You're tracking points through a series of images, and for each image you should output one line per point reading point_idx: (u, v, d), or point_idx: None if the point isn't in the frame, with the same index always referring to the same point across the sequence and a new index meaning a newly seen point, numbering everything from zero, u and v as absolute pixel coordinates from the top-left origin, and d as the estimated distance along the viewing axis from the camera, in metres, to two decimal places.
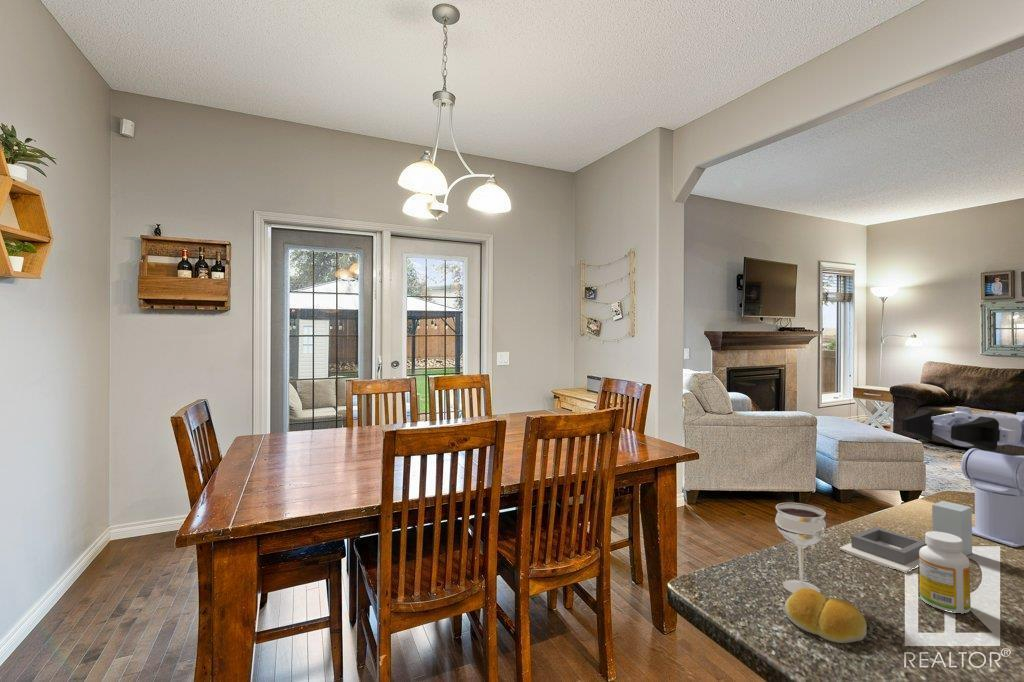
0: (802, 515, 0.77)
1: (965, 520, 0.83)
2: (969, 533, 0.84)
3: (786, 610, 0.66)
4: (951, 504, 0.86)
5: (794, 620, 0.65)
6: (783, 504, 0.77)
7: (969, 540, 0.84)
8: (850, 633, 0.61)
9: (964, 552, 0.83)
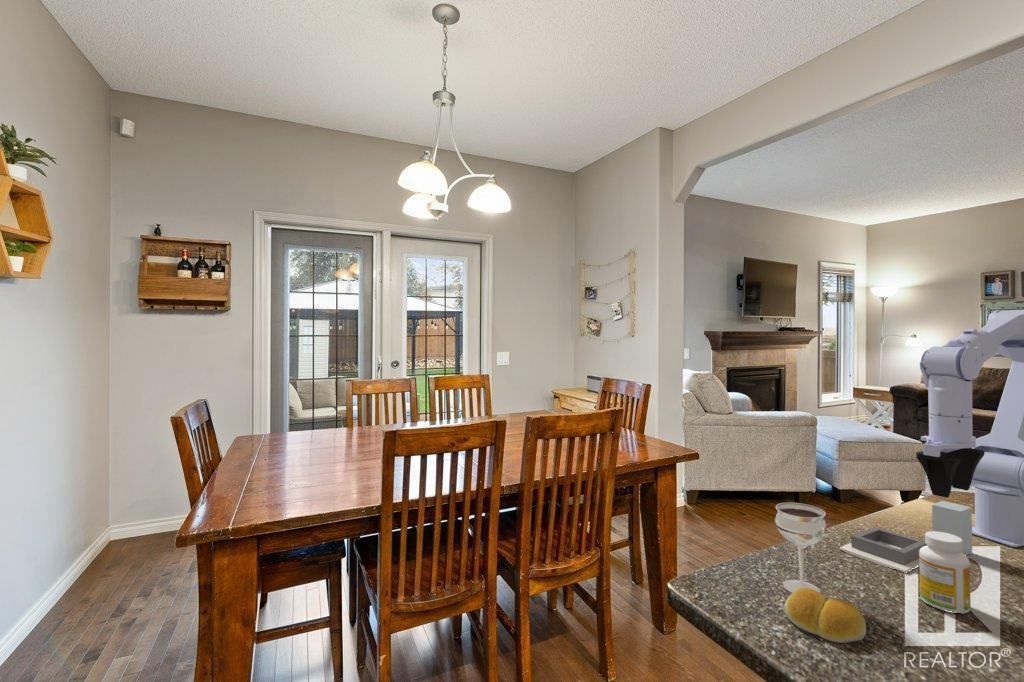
0: (802, 515, 0.77)
1: (965, 520, 0.83)
2: (969, 533, 0.84)
3: (786, 610, 0.66)
4: (951, 504, 0.86)
5: (794, 620, 0.65)
6: (783, 504, 0.77)
7: (969, 540, 0.84)
8: (849, 633, 0.61)
9: (964, 552, 0.83)
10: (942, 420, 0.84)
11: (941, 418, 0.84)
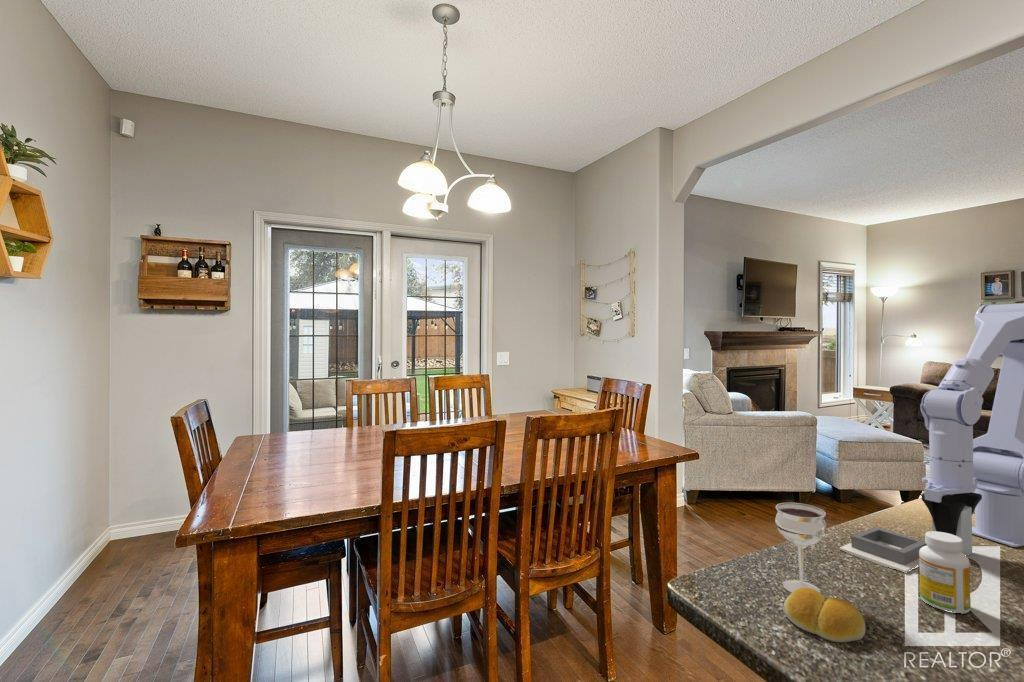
0: (802, 515, 0.77)
1: (965, 520, 0.83)
2: (969, 533, 0.84)
3: (785, 609, 0.66)
4: None
5: (793, 619, 0.65)
6: (783, 504, 0.77)
7: (969, 539, 0.84)
8: (848, 632, 0.61)
9: (964, 552, 0.83)
10: (943, 464, 0.84)
11: (942, 462, 0.84)
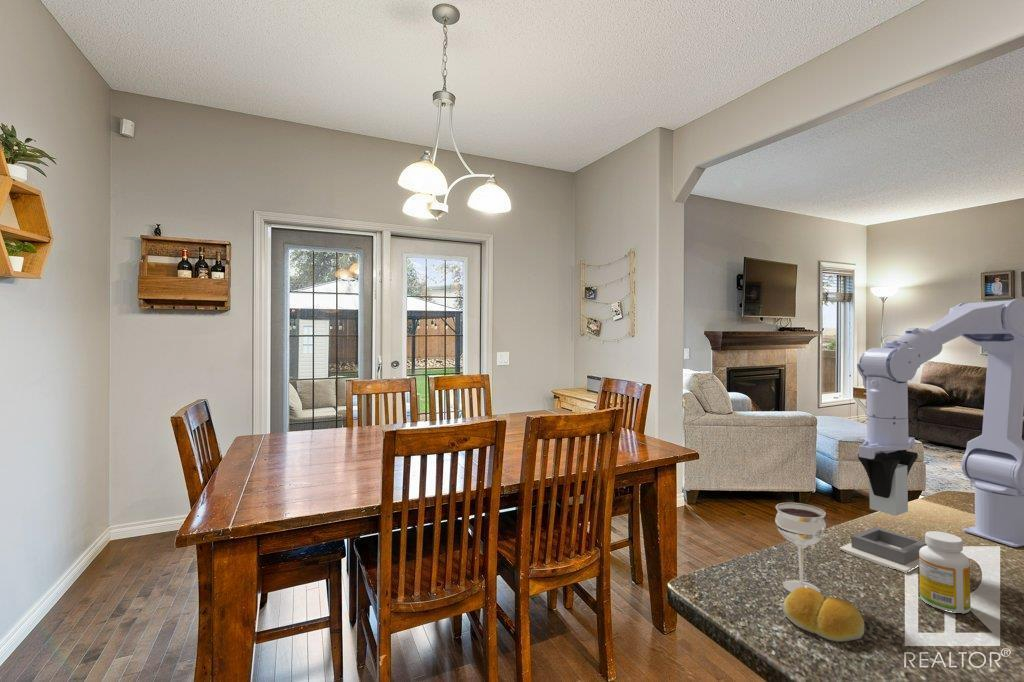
0: (802, 515, 0.77)
1: (900, 478, 0.83)
2: (904, 491, 0.84)
3: (784, 609, 0.67)
4: None
5: (792, 619, 0.65)
6: (783, 504, 0.77)
7: (905, 498, 0.84)
8: (847, 632, 0.61)
9: (899, 510, 0.83)
10: (878, 421, 0.83)
11: (877, 420, 0.84)
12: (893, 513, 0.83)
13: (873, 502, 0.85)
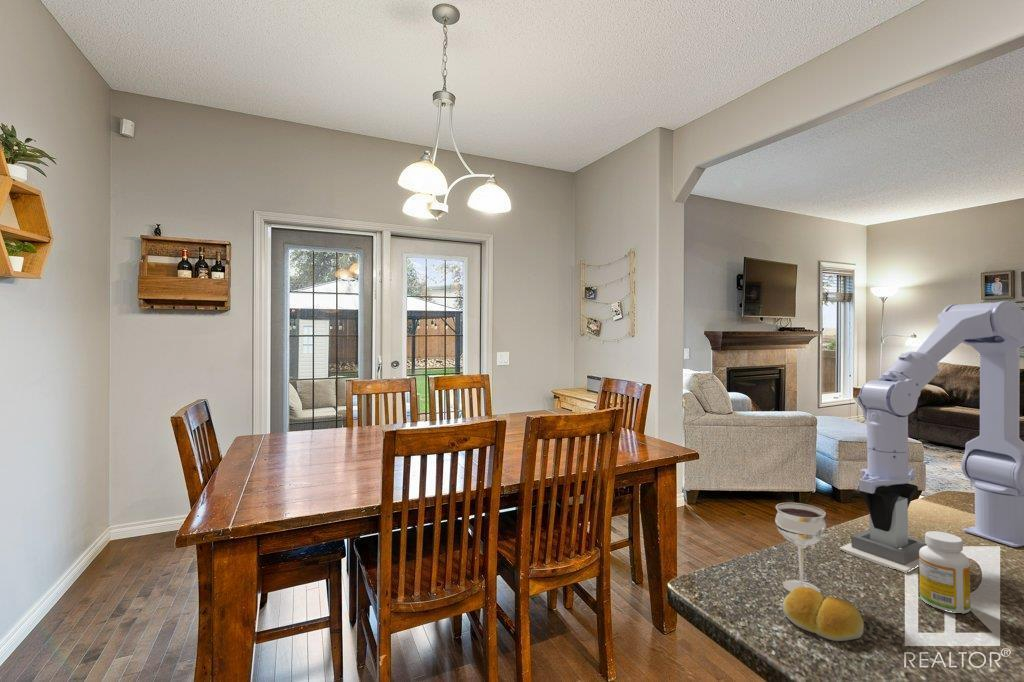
0: (802, 515, 0.77)
1: (900, 511, 0.83)
2: (905, 524, 0.84)
3: (784, 608, 0.67)
4: None
5: (792, 618, 0.65)
6: (783, 504, 0.77)
7: (905, 531, 0.84)
8: (847, 631, 0.61)
9: (899, 543, 0.83)
10: (879, 455, 0.84)
11: (877, 453, 0.84)
12: None
13: (873, 534, 0.85)
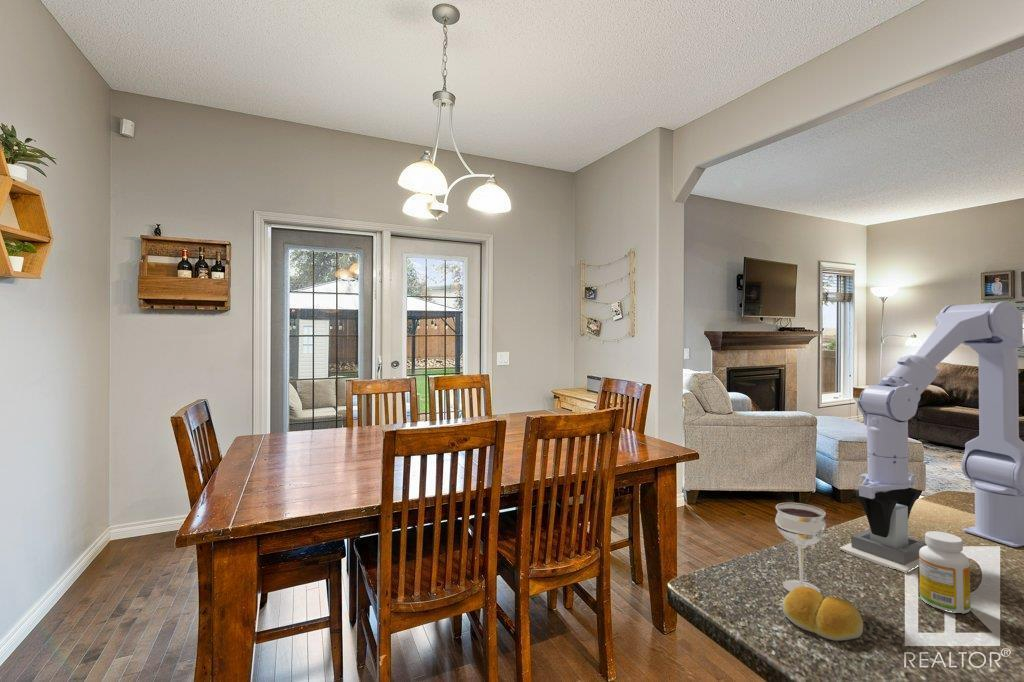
0: (802, 515, 0.77)
1: (900, 519, 0.83)
2: (905, 532, 0.84)
3: (783, 608, 0.67)
4: None
5: (791, 618, 0.65)
6: (783, 504, 0.77)
7: (905, 539, 0.84)
8: (846, 631, 0.61)
9: None
10: (879, 460, 0.84)
11: (877, 458, 0.84)
12: None
13: None
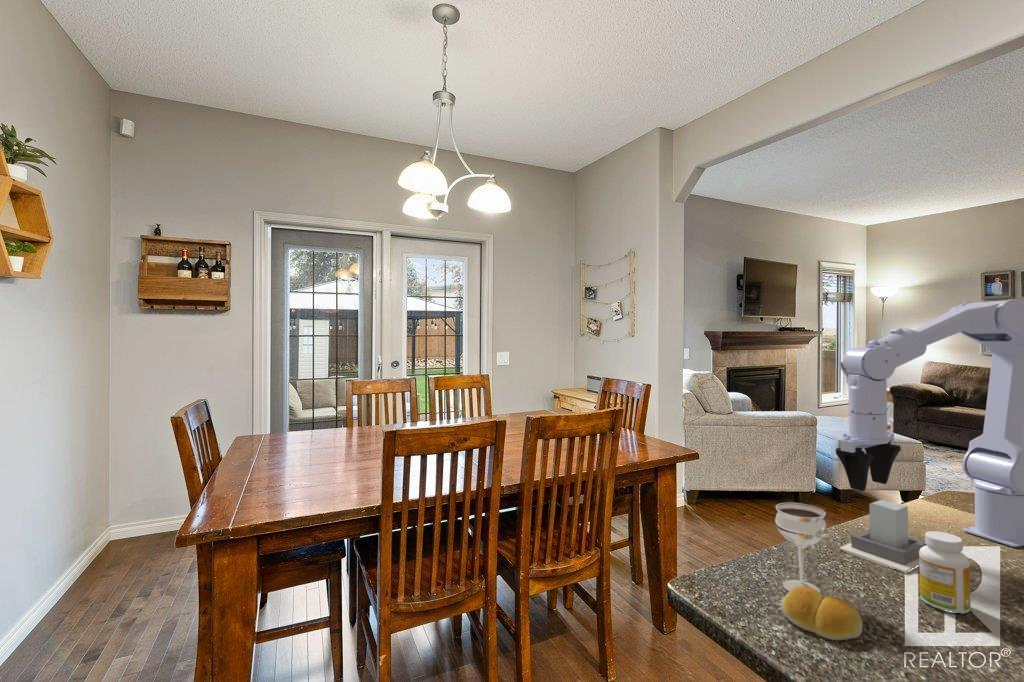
0: (802, 515, 0.77)
1: (900, 519, 0.83)
2: (905, 532, 0.84)
3: (783, 608, 0.67)
4: (888, 503, 0.86)
5: (791, 618, 0.65)
6: (783, 504, 0.77)
7: (905, 539, 0.84)
8: (845, 630, 0.61)
9: None
10: (859, 417, 0.88)
11: (858, 416, 0.88)
12: None
13: None
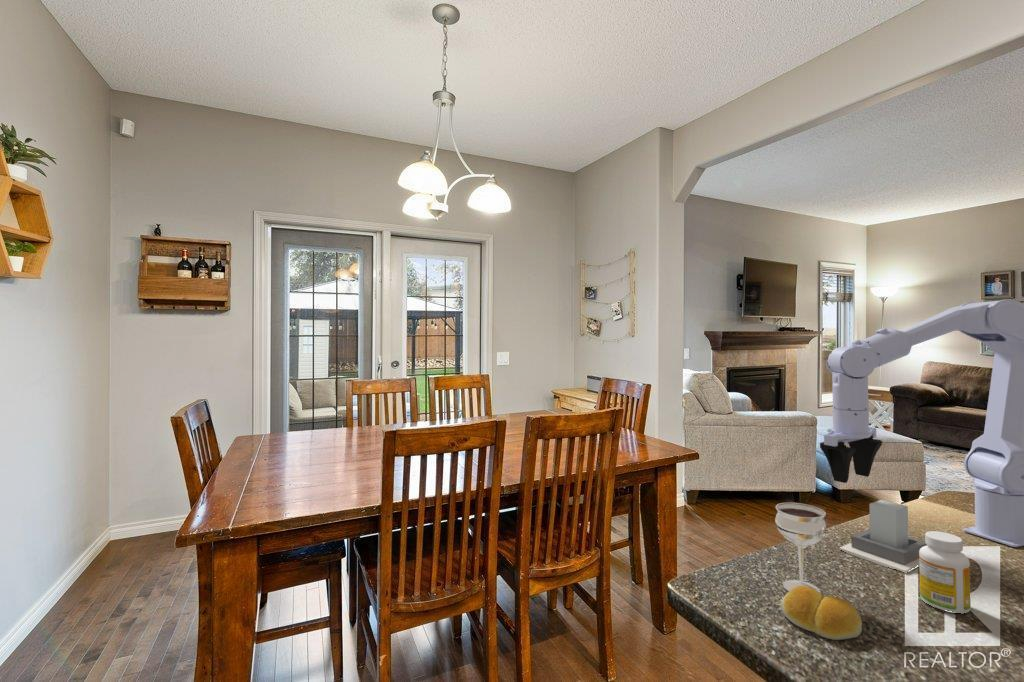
0: (802, 515, 0.77)
1: (900, 519, 0.83)
2: (905, 532, 0.84)
3: (782, 608, 0.67)
4: (888, 503, 0.86)
5: (790, 617, 0.65)
6: (783, 504, 0.77)
7: (905, 539, 0.84)
8: (845, 630, 0.61)
9: None
10: (842, 413, 0.93)
11: (841, 411, 0.93)
12: None
13: None
